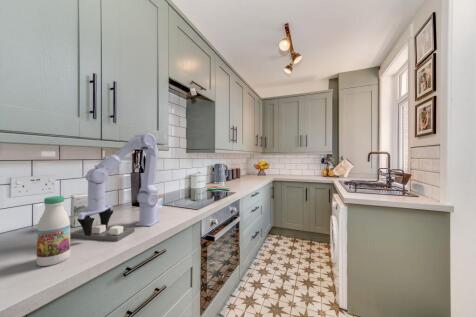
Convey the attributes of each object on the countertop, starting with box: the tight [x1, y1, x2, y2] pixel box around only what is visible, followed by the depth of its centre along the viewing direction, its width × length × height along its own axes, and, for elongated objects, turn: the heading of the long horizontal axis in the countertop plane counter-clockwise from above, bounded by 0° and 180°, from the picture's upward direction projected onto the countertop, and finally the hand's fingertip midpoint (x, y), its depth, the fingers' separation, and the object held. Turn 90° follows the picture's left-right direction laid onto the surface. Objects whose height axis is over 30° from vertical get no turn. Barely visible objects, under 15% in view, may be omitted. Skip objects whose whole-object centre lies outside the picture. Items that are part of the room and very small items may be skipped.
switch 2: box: [110, 225, 124, 235], centre depth 81 cm, size 3×4×2 cm
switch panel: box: [70, 225, 136, 242], centre depth 84 cm, size 10×22×2 cm, turn 81°
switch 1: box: [92, 223, 106, 234], centre depth 82 cm, size 3×4×2 cm
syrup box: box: [70, 193, 88, 229], centre depth 95 cm, size 6×6×14 cm
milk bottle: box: [36, 195, 71, 267], centre depth 63 cm, size 8×8×20 cm
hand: (96, 231), depth 80 cm, fingers open, 7 cm apart
